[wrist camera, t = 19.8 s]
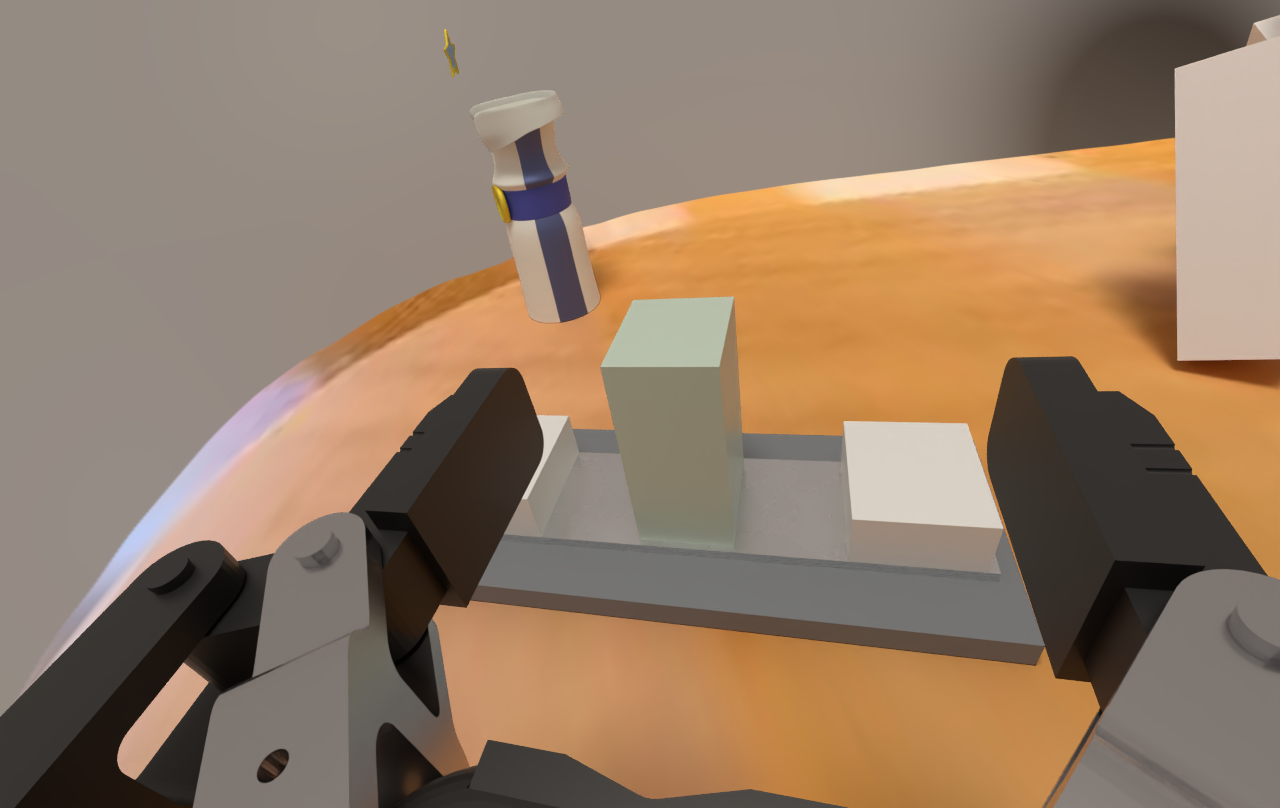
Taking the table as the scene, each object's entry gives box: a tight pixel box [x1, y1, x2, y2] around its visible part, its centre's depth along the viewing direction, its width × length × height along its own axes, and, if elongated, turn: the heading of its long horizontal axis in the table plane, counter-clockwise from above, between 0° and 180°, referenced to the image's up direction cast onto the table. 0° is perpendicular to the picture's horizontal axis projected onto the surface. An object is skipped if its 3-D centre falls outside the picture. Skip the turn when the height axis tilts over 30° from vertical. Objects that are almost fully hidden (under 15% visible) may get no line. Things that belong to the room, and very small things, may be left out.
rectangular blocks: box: [504, 415, 1003, 573], centre depth 32 cm, size 28×7×3 cm, turn 78°
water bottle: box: [444, 29, 600, 323], centre depth 52 cm, size 8×9×25 cm
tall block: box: [600, 297, 744, 546], centre depth 29 cm, size 5×6×11 cm
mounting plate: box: [501, 452, 1001, 582], centre depth 32 cm, size 29×7×1 cm, turn 78°
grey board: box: [471, 429, 1045, 665], centre depth 33 cm, size 31×13×2 cm, turn 78°
